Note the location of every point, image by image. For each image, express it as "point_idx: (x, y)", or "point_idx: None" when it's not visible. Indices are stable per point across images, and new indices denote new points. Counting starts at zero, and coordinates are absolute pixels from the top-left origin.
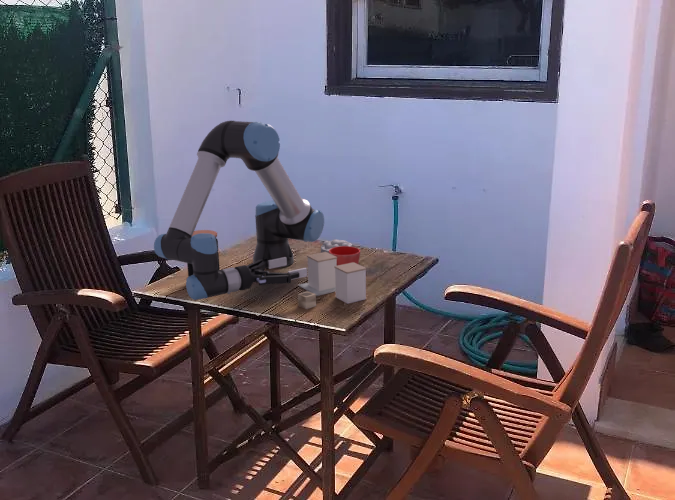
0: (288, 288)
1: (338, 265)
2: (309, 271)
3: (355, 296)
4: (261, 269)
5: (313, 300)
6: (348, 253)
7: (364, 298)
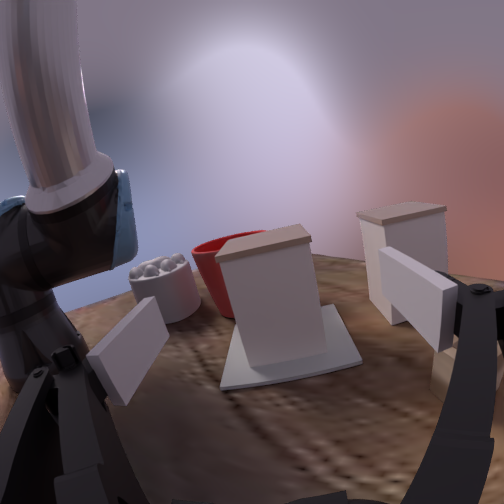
0: (218, 423)
1: (376, 217)
2: (247, 315)
3: None
4: (120, 463)
5: None
6: None
7: None
